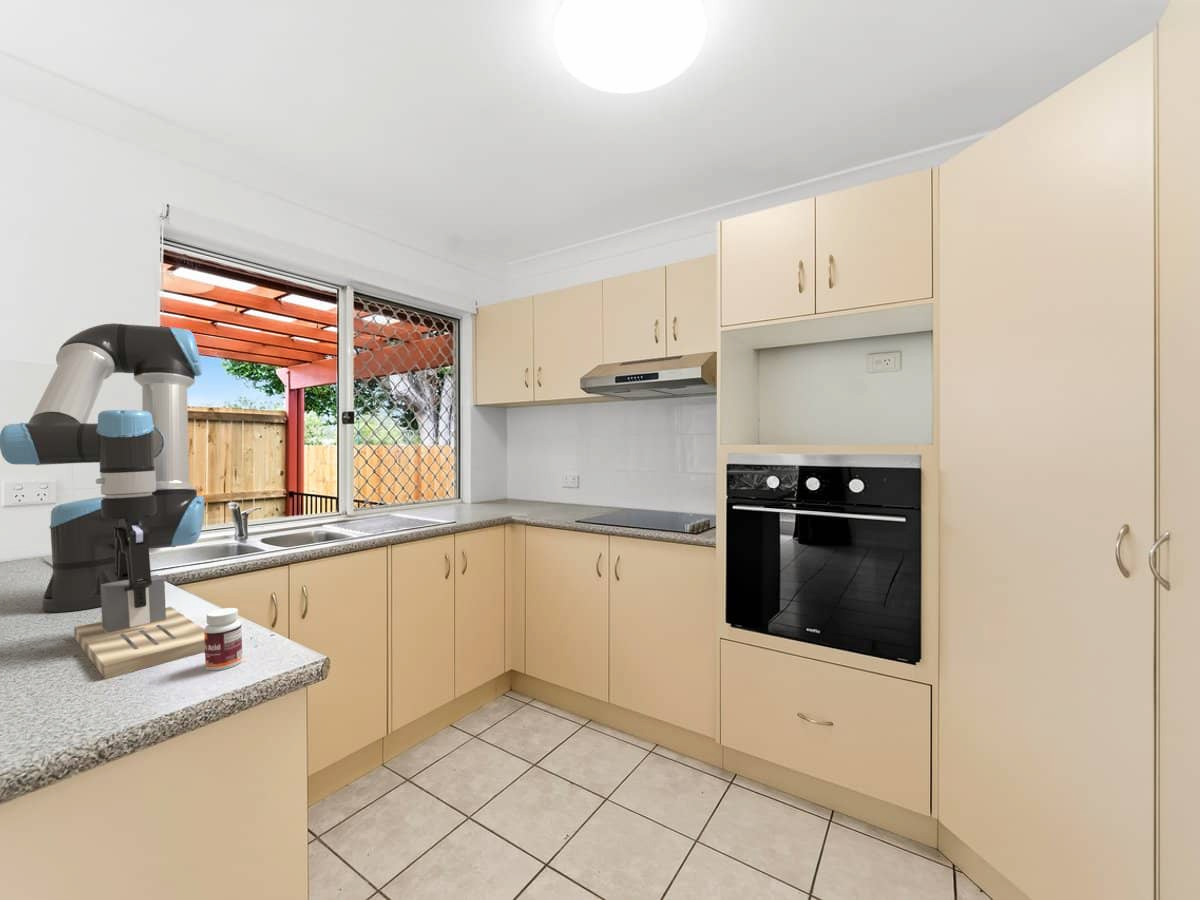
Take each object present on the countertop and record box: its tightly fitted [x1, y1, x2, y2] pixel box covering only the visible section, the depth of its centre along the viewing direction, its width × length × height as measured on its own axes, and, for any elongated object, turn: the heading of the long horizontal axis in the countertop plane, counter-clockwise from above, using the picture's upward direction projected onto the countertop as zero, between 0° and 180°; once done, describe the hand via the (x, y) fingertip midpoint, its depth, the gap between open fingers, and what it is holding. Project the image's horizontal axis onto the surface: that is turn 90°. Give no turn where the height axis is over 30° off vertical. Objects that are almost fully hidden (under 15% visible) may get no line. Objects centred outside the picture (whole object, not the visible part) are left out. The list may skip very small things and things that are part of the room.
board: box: [73, 606, 205, 680], centre depth 93 cm, size 28×14×2 cm, turn 51°
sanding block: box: [100, 574, 167, 634], centre depth 97 cm, size 8×5×8 cm, turn 141°
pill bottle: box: [204, 607, 243, 671], centre depth 83 cm, size 5×5×8 cm
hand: (134, 620), depth 97 cm, fingers open, 7 cm apart
